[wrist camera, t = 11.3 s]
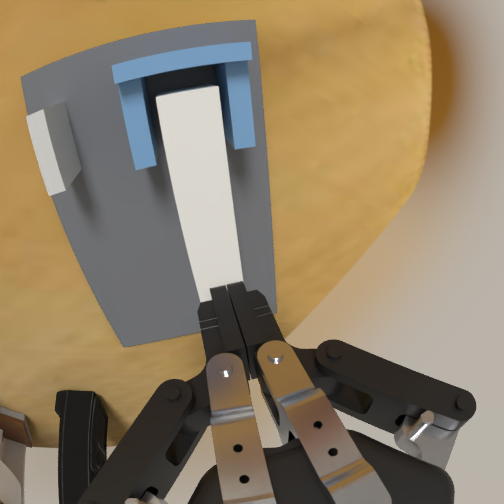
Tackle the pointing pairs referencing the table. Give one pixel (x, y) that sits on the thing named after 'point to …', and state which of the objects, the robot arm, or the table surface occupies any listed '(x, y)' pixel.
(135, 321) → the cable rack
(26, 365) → the table surface
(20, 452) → the white shelf unit
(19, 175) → the table surface
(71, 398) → the portable radio
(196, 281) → the block
